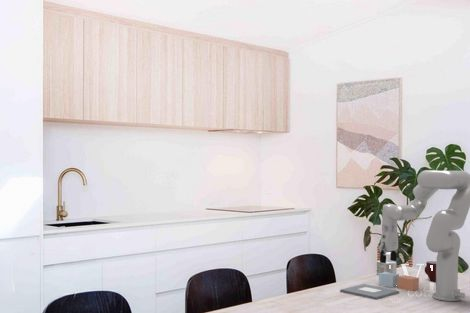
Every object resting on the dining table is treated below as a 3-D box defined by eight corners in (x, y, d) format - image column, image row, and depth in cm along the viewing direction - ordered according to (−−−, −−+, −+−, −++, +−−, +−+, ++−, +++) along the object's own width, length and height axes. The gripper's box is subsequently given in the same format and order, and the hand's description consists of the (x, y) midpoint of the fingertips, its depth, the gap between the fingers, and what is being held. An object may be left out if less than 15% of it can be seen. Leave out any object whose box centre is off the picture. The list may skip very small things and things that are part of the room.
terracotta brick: (418, 289, 293) (418, 277, 293) (412, 291, 288) (412, 279, 288) (404, 287, 298) (404, 275, 298) (397, 288, 294) (398, 276, 294)
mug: (419, 279, 316) (419, 261, 316) (428, 278, 321) (429, 259, 321) (435, 283, 308) (435, 264, 308) (445, 281, 312) (445, 263, 312)
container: (376, 274, 329) (376, 251, 329) (387, 273, 333) (387, 250, 333) (385, 277, 322) (385, 253, 322) (396, 276, 326) (397, 252, 326)
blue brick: (398, 286, 301) (399, 274, 301) (392, 287, 296) (392, 275, 296) (385, 283, 306) (385, 271, 306) (378, 285, 302) (379, 273, 302)
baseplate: (399, 293, 284) (399, 290, 284) (376, 299, 270) (376, 296, 270) (363, 286, 298) (363, 283, 298) (340, 292, 284) (340, 289, 284)
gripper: (386, 230, 293) (385, 264, 293) (404, 228, 305) (403, 260, 305) (373, 228, 298) (372, 262, 299) (392, 226, 310) (390, 258, 311)
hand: (388, 261), depth 302 cm, fingers open, 9 cm apart
